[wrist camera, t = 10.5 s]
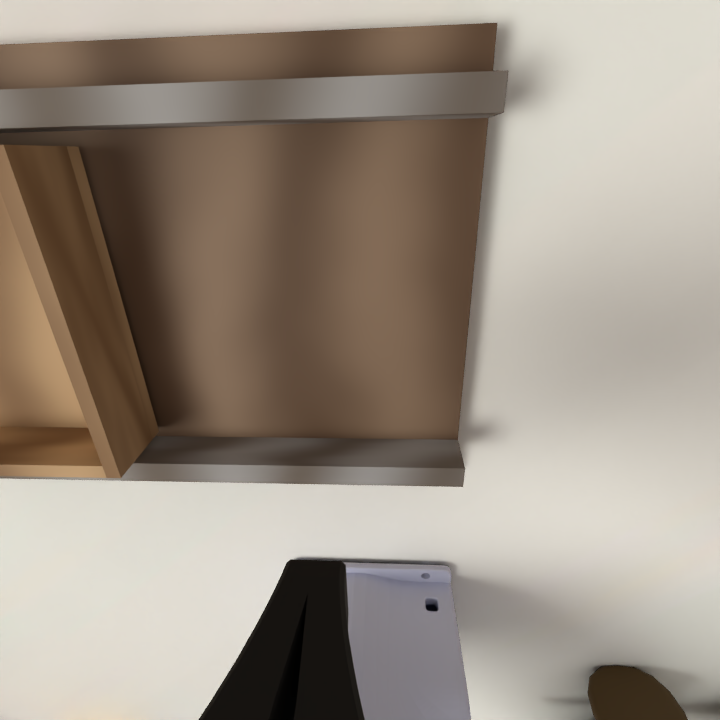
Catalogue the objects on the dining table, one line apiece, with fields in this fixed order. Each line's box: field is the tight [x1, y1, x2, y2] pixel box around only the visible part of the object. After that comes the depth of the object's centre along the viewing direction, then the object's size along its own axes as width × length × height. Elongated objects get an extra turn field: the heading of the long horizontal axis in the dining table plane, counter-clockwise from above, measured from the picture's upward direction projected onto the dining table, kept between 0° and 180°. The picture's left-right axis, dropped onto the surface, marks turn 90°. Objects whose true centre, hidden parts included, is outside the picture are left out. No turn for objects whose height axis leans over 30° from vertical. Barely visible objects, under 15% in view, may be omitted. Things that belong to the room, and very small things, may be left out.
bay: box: [0, 23, 508, 487], centre depth 16 cm, size 26×18×6 cm
